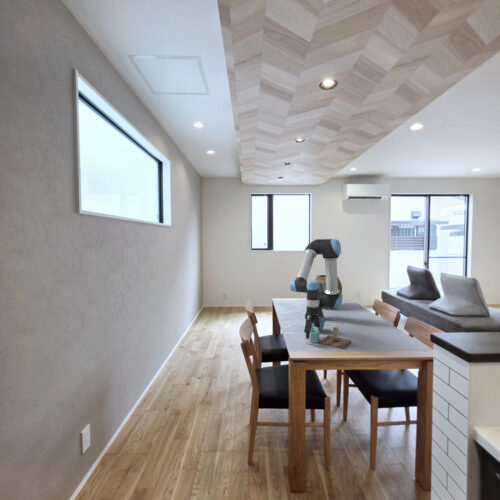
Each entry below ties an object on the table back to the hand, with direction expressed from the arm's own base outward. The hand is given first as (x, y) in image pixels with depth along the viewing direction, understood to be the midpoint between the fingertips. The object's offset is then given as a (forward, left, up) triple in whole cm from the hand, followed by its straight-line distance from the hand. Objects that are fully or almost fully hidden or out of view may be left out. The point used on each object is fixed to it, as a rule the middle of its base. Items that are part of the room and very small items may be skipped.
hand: (312, 340), depth 168 cm
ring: (0, 0, 0) cm, 0 cm away
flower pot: (-5, +19, 0) cm, 20 cm away
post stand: (+13, +5, 0) cm, 14 cm away
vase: (-21, +88, 0) cm, 91 cm away
